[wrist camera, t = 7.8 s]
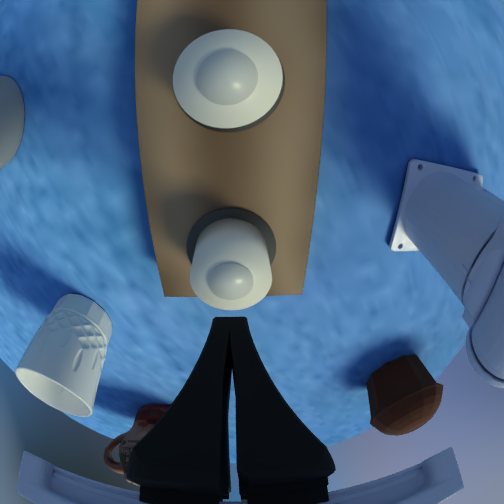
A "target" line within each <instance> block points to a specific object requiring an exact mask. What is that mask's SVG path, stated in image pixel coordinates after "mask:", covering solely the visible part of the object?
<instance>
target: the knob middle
mask: <svg viewBox="0 0 504 504" xmlns="http://www.w3.org/2000/svg"><path fill="white" fill-rule="evenodd" d="M282 80H283V75H282V68H281V64H280V61H279V59H278V57H277V55H276V53H275V52H274V50H273V49H272V48H271V47H270V46H269V45H268V44H267V43H266V42H265V41H264V40H262V39H261V38H259V37H258V36H256V35H254V34H251V33H249V32H246V31H242V30H236V29H224V30H217V31H213V32H210V33H207V34H205V35H202V36H200V37H199V38H197V39H196V40H194V41H193V42H192V43H190V44H189V45H188V46H187V47H186V48H185V49H184V51H183V52H182V53H181V55H180V56H179V58H178V60H177V62H176V65H175V68H174V72H173V89H174V93H175V96H176V98H177V100H178V102H179V104H180V106H181V107H182V108H183V110H184V111H185V112H186V113H187V114H188V115H189V116H191V117H192V118H193V119H195V120H197V121H198V122H200V123H202V124H205V125H208V126H211V127H216V128H236V127H241V126H244V125H247V124H250V123H252V122H254V121H256V120H258V119H259V118H261V117H262V116H263V115H265V114H266V113H267V112H268V111H269V110H270V109H271V107H272V106H273V105H274V104H275V102H276V100H277V98H278V96H279V94H280V91H281V87H282Z"/></svg>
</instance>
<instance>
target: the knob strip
mask: <svg viewBox="0 0 504 504" xmlns="http://www.w3.org/2000/svg"><path fill="white" fill-rule="evenodd" d="M224 29H236V30H242V31H246V32H249V33H251V34H254V35H256V36H258V37H259V38H261V39H262V40H264V41H265V42H266V43H267V44H268V45H269V46H270V47H271V48H272V49H273V50H274V52H275V53H276V55H277V57H278V59H279V61H280V64H281V68H282V75H283V80H282V87H281V91H280V94H279V96H278V98H277V100H276V102H275V104H274V105H273V106H272V107H271V109H270V110H269V111H268V112H267V113H266V114H265V115H263V116H262V117H261V118H259V119H258V120H256V121H254V122H252V123H250V124H247V125H244V126H241V127H236V128H216V127H211V126H208V125H205V124H202V123H200V122H198V121H197V120H195V119H193V118H192V117H191V116H189V115H188V114H187V113H186V112H185V111H184V110H183V108H182V107H181V106H180V104H179V102H178V100H177V98H176V96H175V93H174V89H173V72H174V68H175V65H176V62H177V60H178V58H179V56H180V55H181V53H182V52H183V51H184V49H185V48H186V47H187V46H188V45H189V44H190V43H192V42H193V41H194V40H196V39H197V38H199V37H200V36H202V35H205V34H207V33H210V32H213V31H217V30H224ZM326 54H327V0H137V13H136V32H135V93H136V113H137V128H138V140H139V150H140V160H141V169H142V177H143V185H144V192H145V199H146V205H147V212H148V218H149V224H150V230H151V235H152V240H153V246H154V251H155V256H156V261H157V265H158V270H159V275H160V279H161V284H162V288H163V292H164V296H165V297H197V295H196V294H195V293H194V291H193V289H192V287H191V284H190V270H191V266H192V261H193V256H194V252H195V247H196V243H197V239H198V237H199V235H200V234H201V232H202V231H203V230H204V229H205V228H206V227H207V226H208V225H210V224H211V223H213V222H215V221H218V220H222V219H229V218H233V219H241V220H244V221H247V222H249V223H251V224H252V225H254V226H255V227H257V228H258V229H259V230H260V232H261V233H262V234H263V236H264V238H265V241H266V246H267V251H268V256H269V262H270V267H271V273H272V284H271V287H270V289H269V291H268V293H267V294H266V296H273V295H299V294H302V292H303V286H304V280H305V274H306V268H307V261H308V254H309V248H310V241H311V233H312V226H313V218H314V210H315V202H316V194H317V185H318V175H319V165H320V155H321V144H322V131H323V118H324V102H325V83H326Z"/></svg>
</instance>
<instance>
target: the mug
mask: <svg viewBox="0 0 504 504" xmlns="http://www.w3.org/2000/svg"><path fill="white" fill-rule="evenodd" d="M24 120H25V110H24V101H23V97H22V93H21V91H20V88H19V87H18V85H17V83H16V82H15V81H14V80H13V79H12V78H10V77H8V76H4V75H0V169H1V168H2V167H4V166H6V165H7V164H8V163H9V162H10V161H11V159H12V158H13V157H14V155H15V154H16V152H17V150H18V147H19V145H20V142H21V139H22V135H23V129H24Z"/></svg>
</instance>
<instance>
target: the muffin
mask: <svg viewBox="0 0 504 504" xmlns="http://www.w3.org/2000/svg"><path fill="white" fill-rule="evenodd" d="M367 390H368V397H369V404H370V412H371V421H370V424H371V425H372V426H373V427H375V428H376V429H378V430H379V431H380V432H382V433H384V434H387V435H403V434H406V433H409V432H412V431H414V430H416V429H418V428H420V427H421V426H423V425H424V424H425V423H427V421H429V420H430V419H431V418H432V417H433V415H434V414H435V412H436V411H437V409H438V407H439V405H440V402H441V398H442V391H443V385H441V384H439V383H436V381H435V380H434V379H433V377H432V376H431V374H430V373H429V372H428V370H427V369H426V367H425V366H424V365H423V363H422V362H421V361H420V359H419V358H418V357H417V355H413V356H405V355H404V356H402V357H400V358H398V359H396V360H393V361H390V362H387V363H386V364H385V365H383V366H382V367H381V368H380V369H378V370H377V371H375V372H374V373H372V375H371V377H370V379H369V380H368V382H367Z"/></svg>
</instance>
